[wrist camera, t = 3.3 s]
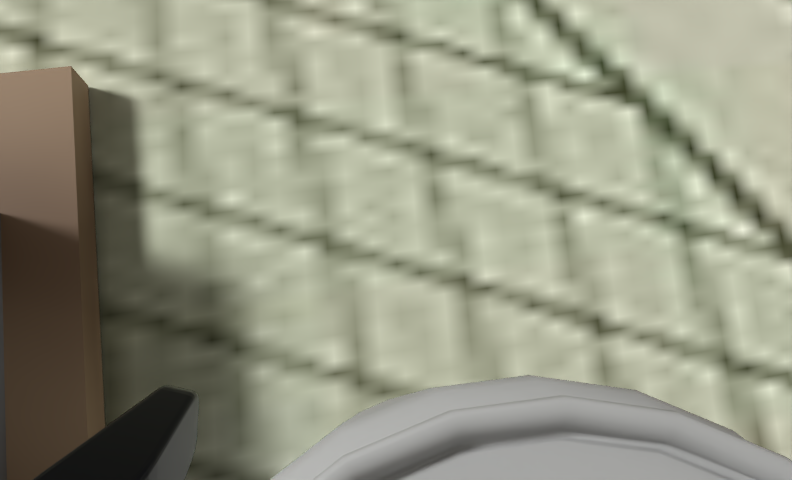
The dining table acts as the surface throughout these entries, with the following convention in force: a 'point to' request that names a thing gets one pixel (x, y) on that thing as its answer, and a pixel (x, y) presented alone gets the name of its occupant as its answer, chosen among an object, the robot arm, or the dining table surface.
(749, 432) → the dining table surface
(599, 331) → the dining table surface
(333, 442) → the beverage can
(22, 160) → the vise
